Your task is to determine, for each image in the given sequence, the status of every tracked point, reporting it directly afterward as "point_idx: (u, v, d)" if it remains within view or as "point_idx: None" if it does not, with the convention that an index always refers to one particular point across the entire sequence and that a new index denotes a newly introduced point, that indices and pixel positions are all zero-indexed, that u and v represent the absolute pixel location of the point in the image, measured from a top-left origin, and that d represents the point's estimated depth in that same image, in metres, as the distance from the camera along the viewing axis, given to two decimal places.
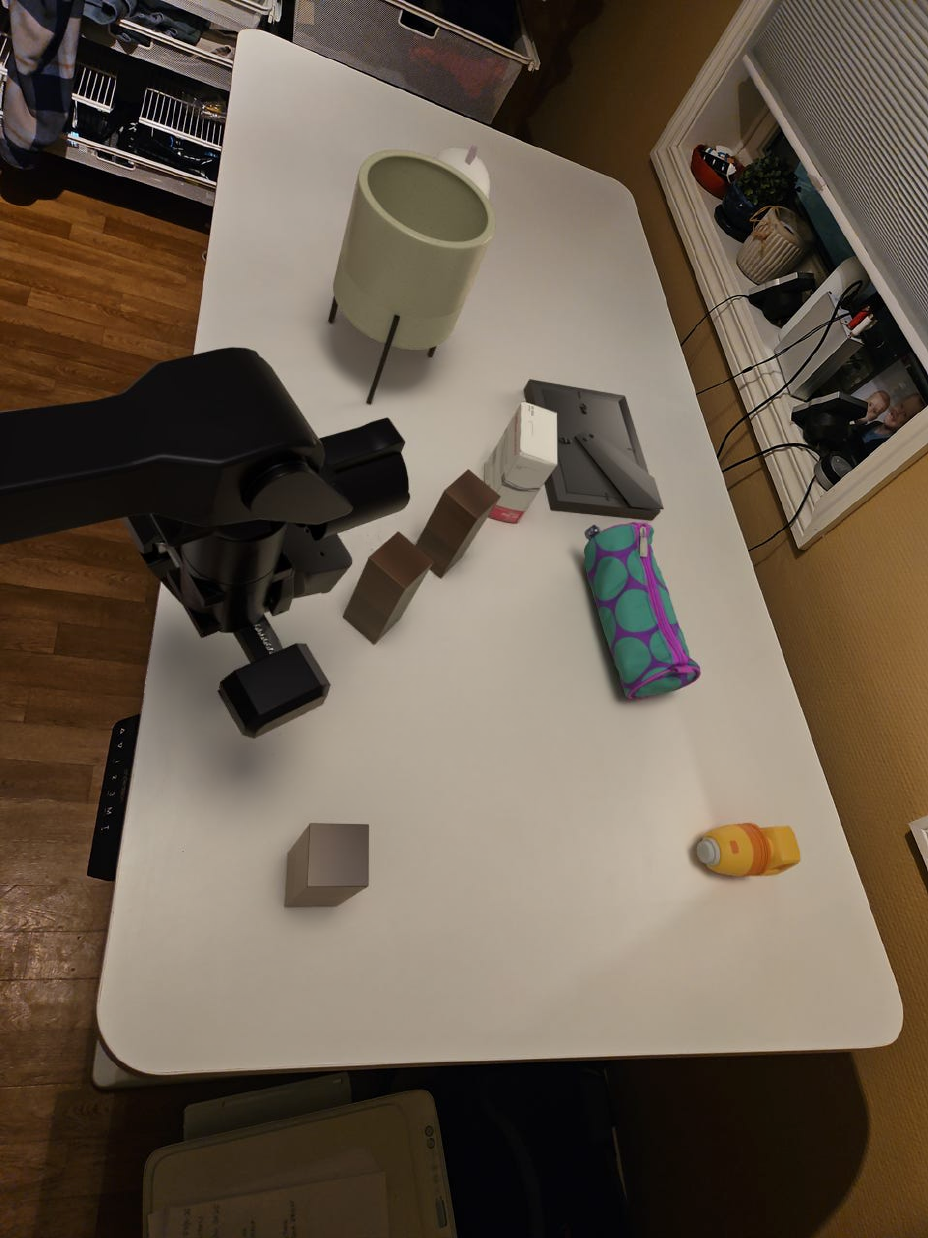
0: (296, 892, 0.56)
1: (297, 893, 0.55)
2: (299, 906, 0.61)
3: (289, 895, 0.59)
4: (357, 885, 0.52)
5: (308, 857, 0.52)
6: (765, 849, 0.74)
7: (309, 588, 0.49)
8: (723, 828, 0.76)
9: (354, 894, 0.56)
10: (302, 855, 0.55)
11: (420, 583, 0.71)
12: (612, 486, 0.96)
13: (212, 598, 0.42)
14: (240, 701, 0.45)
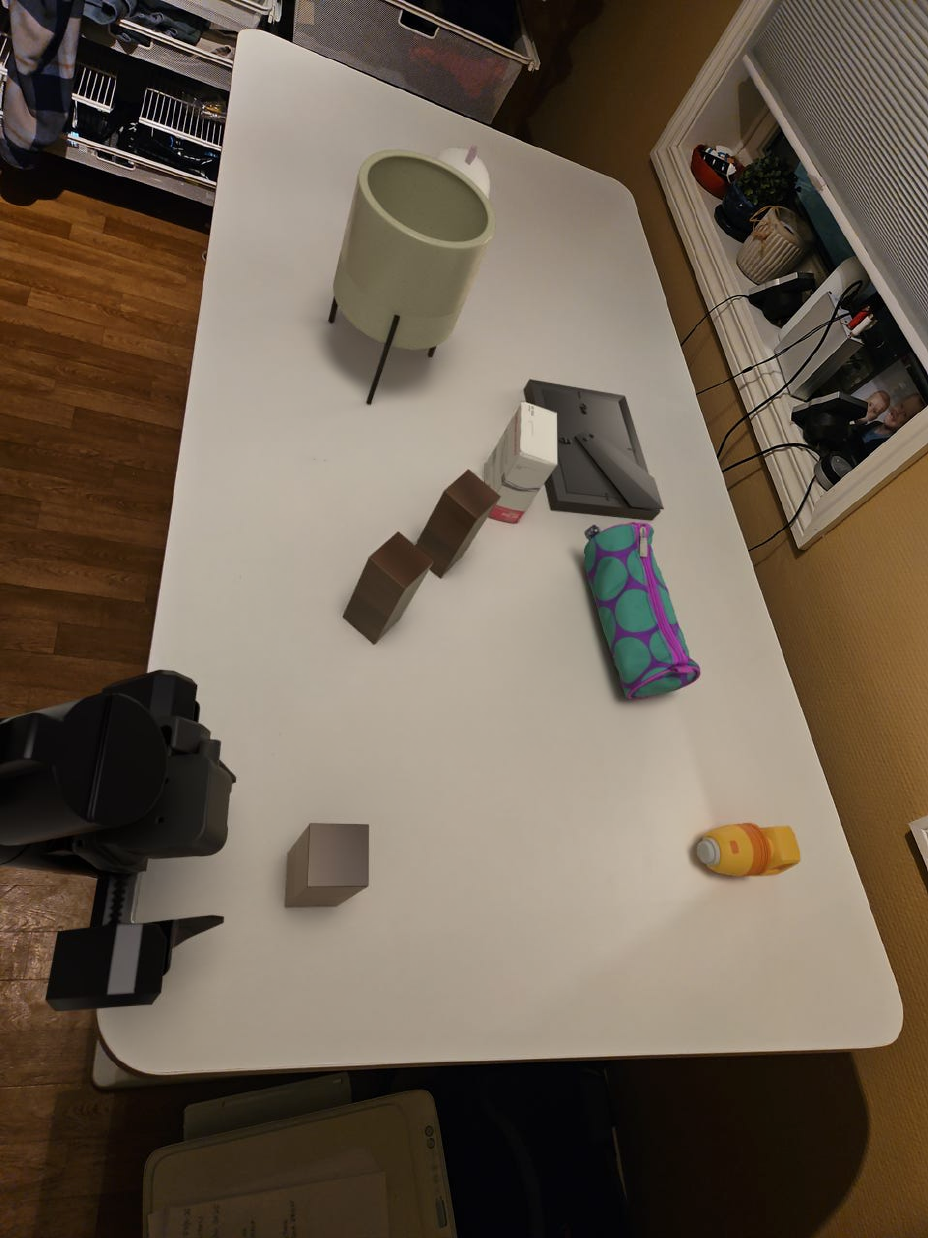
0: (296, 892, 0.56)
1: (297, 893, 0.55)
2: (299, 906, 0.61)
3: (289, 895, 0.59)
4: (357, 885, 0.52)
5: (308, 857, 0.52)
6: (765, 849, 0.74)
7: (156, 855, 0.38)
8: (723, 828, 0.76)
9: (354, 894, 0.56)
10: (302, 855, 0.55)
11: (420, 583, 0.71)
12: (612, 486, 0.96)
13: None
14: None
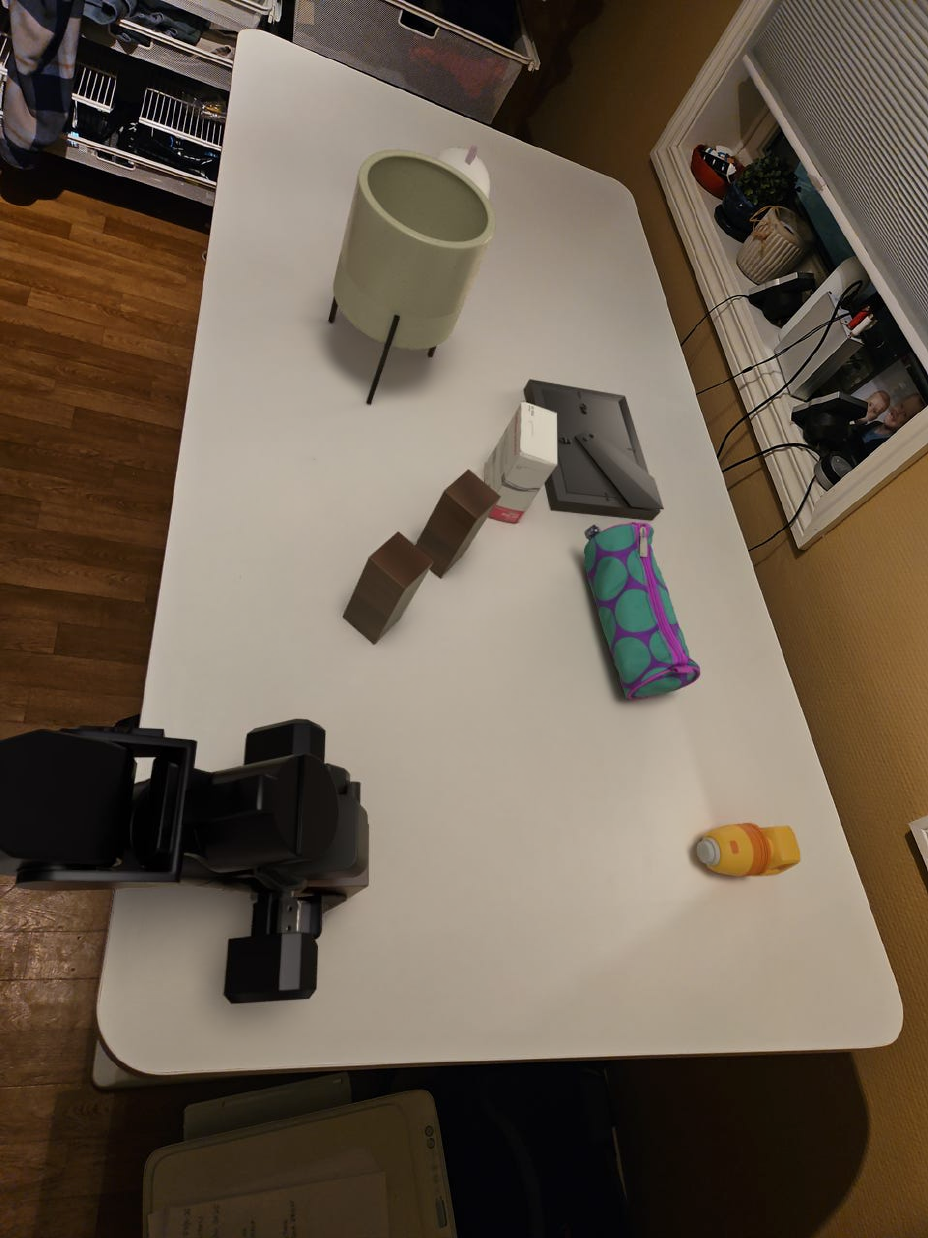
0: (296, 892, 0.56)
1: (297, 893, 0.55)
2: None
3: None
4: (357, 885, 0.52)
5: None
6: (765, 849, 0.74)
7: (313, 877, 0.47)
8: (723, 828, 0.76)
9: (354, 894, 0.56)
10: None
11: (420, 583, 0.71)
12: (612, 486, 0.96)
13: (183, 883, 0.46)
14: (225, 970, 0.48)
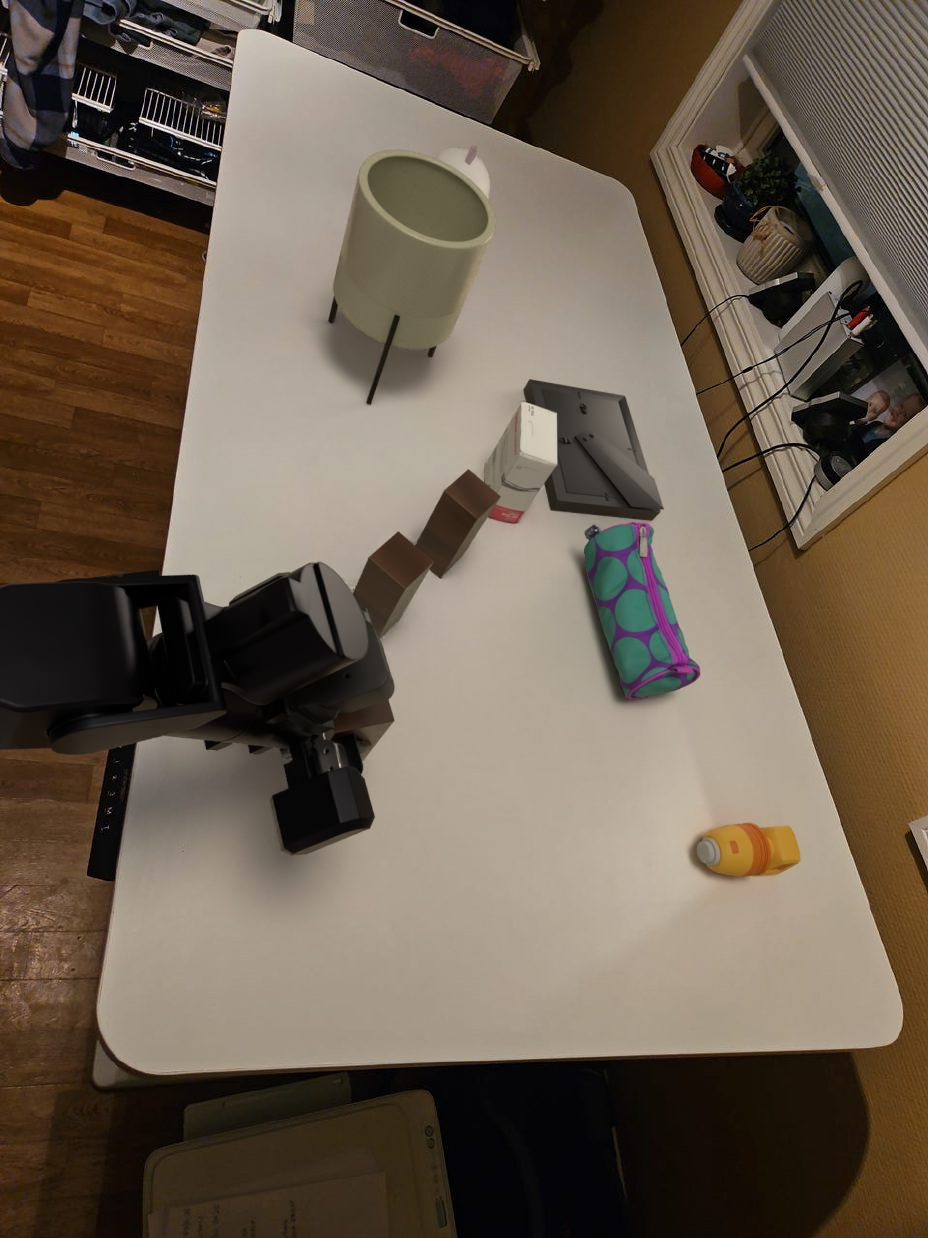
0: None
1: None
2: None
3: None
4: (383, 721, 0.51)
5: None
6: (765, 849, 0.74)
7: (345, 709, 0.45)
8: (723, 828, 0.76)
9: (378, 739, 0.55)
10: None
11: (420, 583, 0.71)
12: (612, 486, 0.96)
13: (213, 746, 0.43)
14: (277, 826, 0.46)
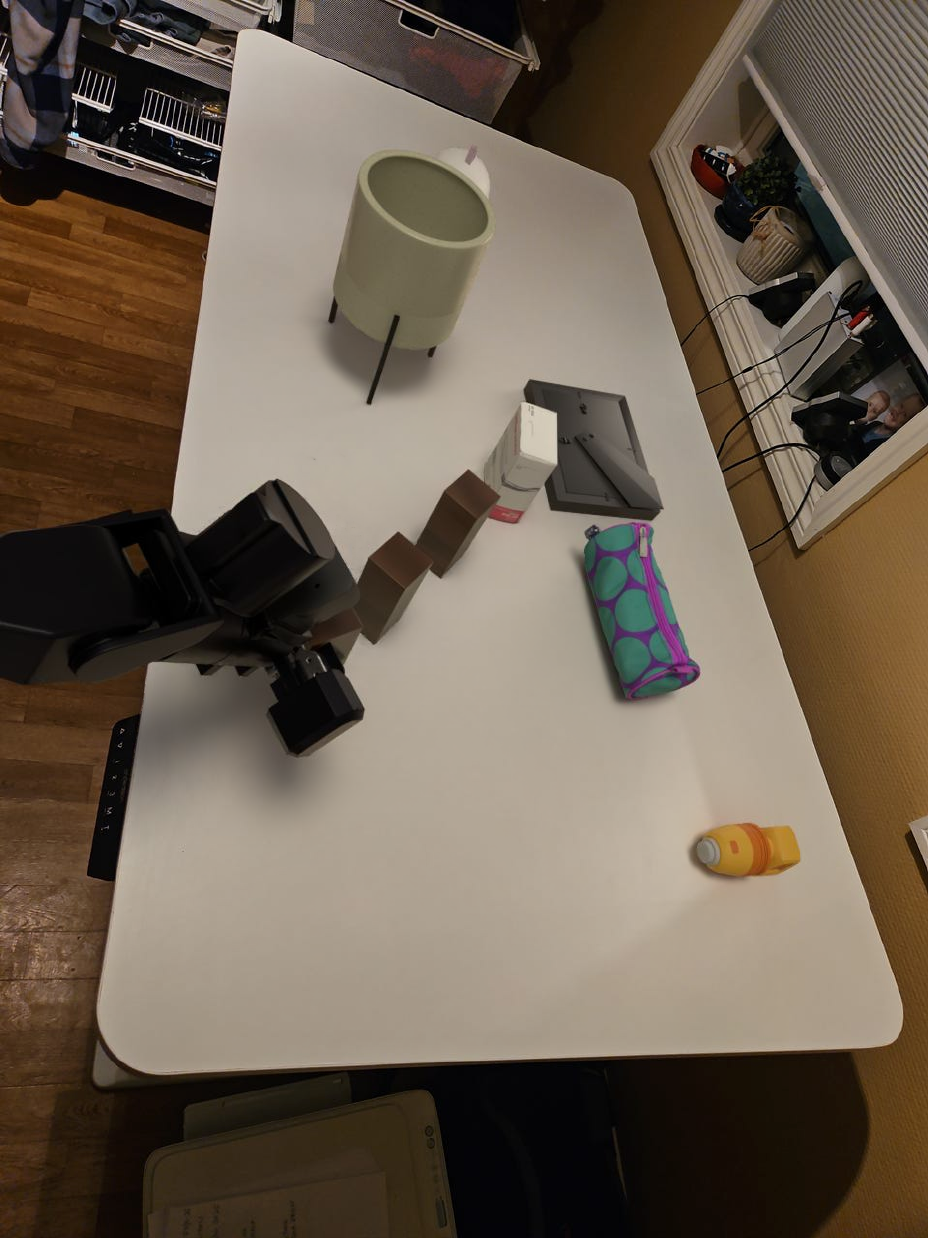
0: None
1: None
2: None
3: None
4: (353, 629, 0.56)
5: None
6: (765, 849, 0.74)
7: (320, 617, 0.49)
8: (723, 828, 0.76)
9: (350, 649, 0.60)
10: None
11: (420, 583, 0.71)
12: (612, 486, 0.96)
13: (207, 671, 0.47)
14: (278, 734, 0.51)
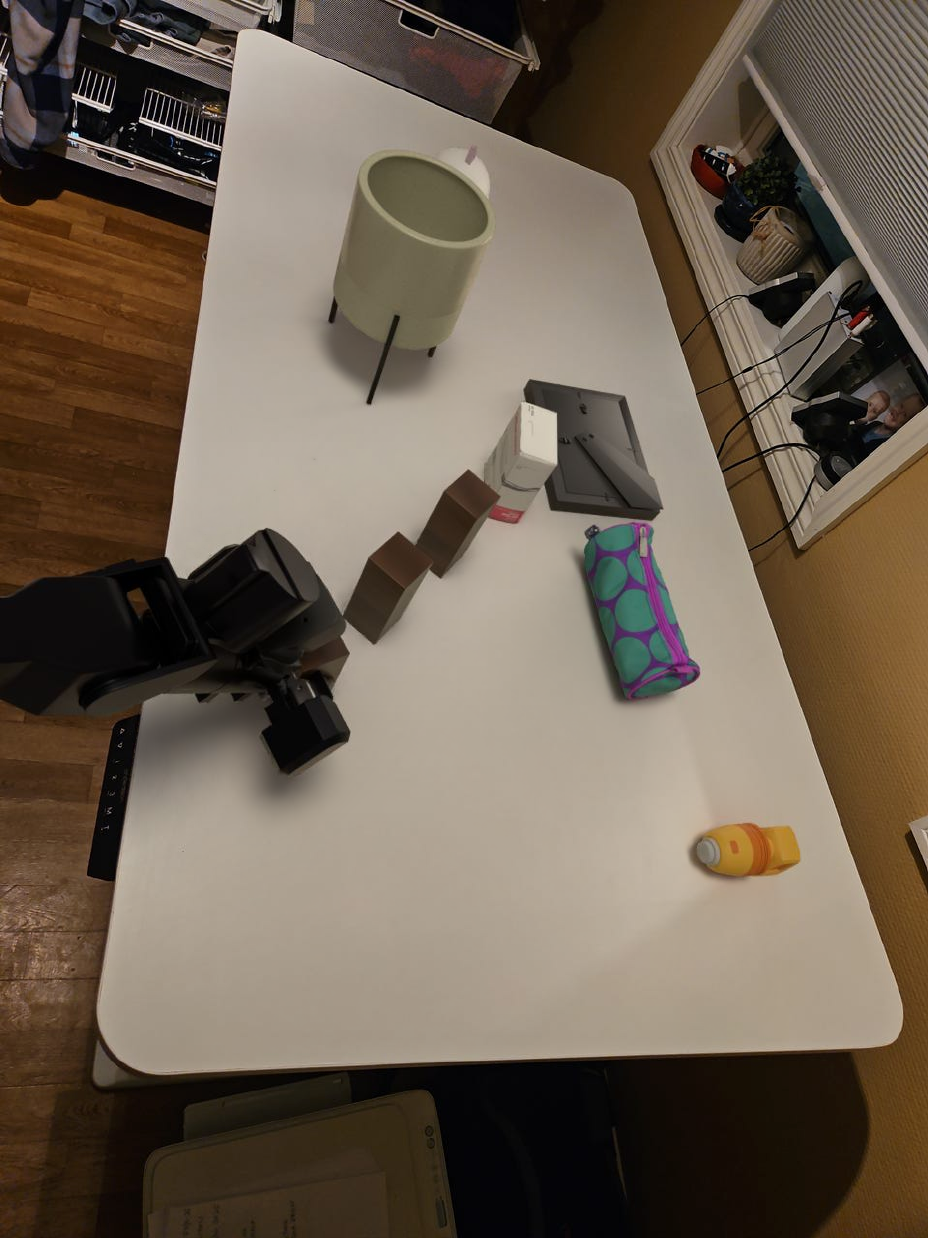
0: None
1: None
2: None
3: None
4: (341, 656, 0.60)
5: None
6: (765, 849, 0.74)
7: (308, 648, 0.54)
8: (723, 828, 0.76)
9: (339, 673, 0.64)
10: None
11: (420, 583, 0.71)
12: (612, 486, 0.96)
13: (204, 699, 0.52)
14: (270, 755, 0.55)
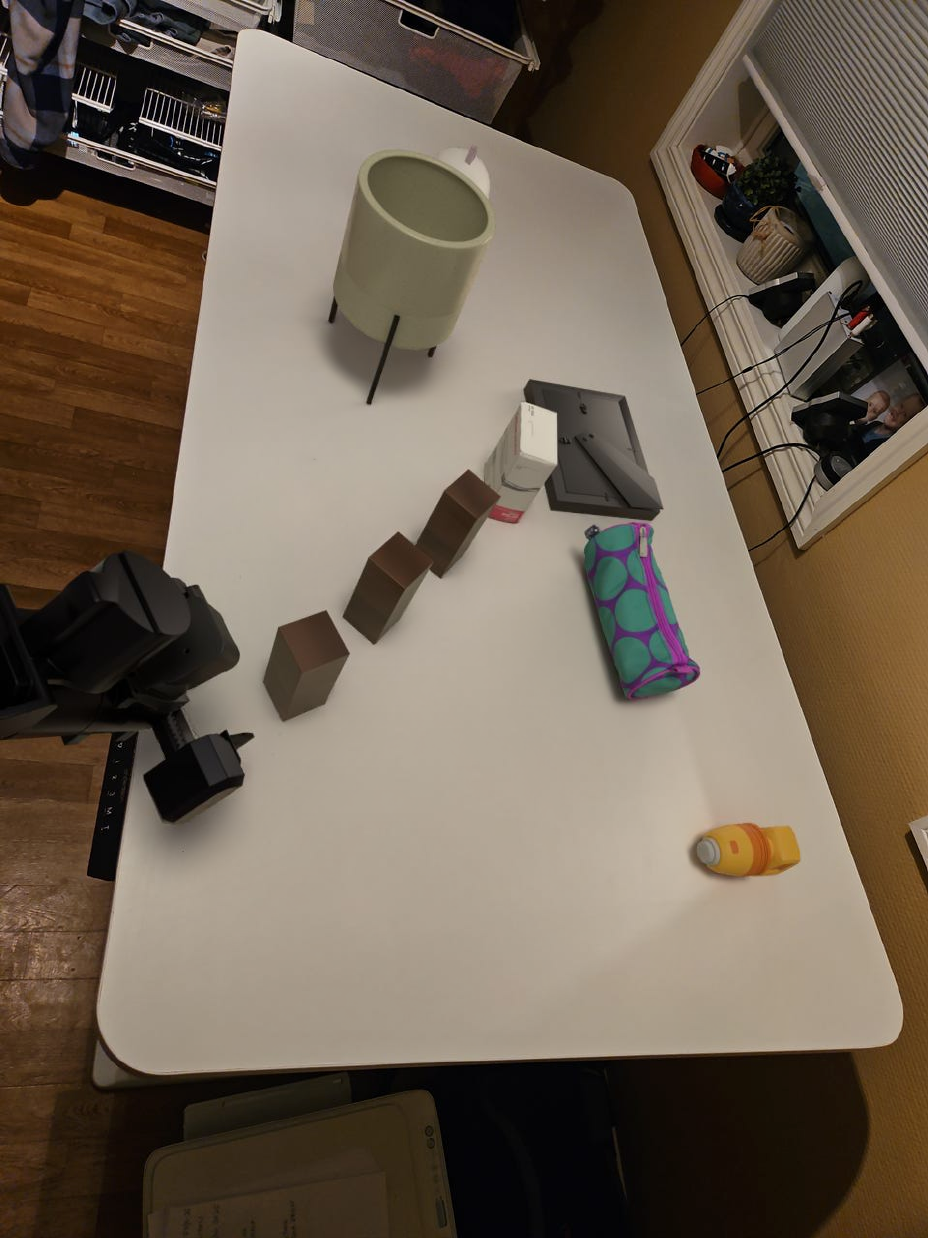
0: (291, 692, 0.63)
1: (293, 691, 0.62)
2: (294, 715, 0.68)
3: (283, 705, 0.66)
4: (341, 656, 0.60)
5: (291, 651, 0.59)
6: (765, 849, 0.74)
7: (194, 682, 0.48)
8: (723, 828, 0.76)
9: (339, 673, 0.64)
10: (283, 659, 0.61)
11: (420, 583, 0.71)
12: (612, 486, 0.96)
13: (70, 741, 0.46)
14: (153, 801, 0.49)
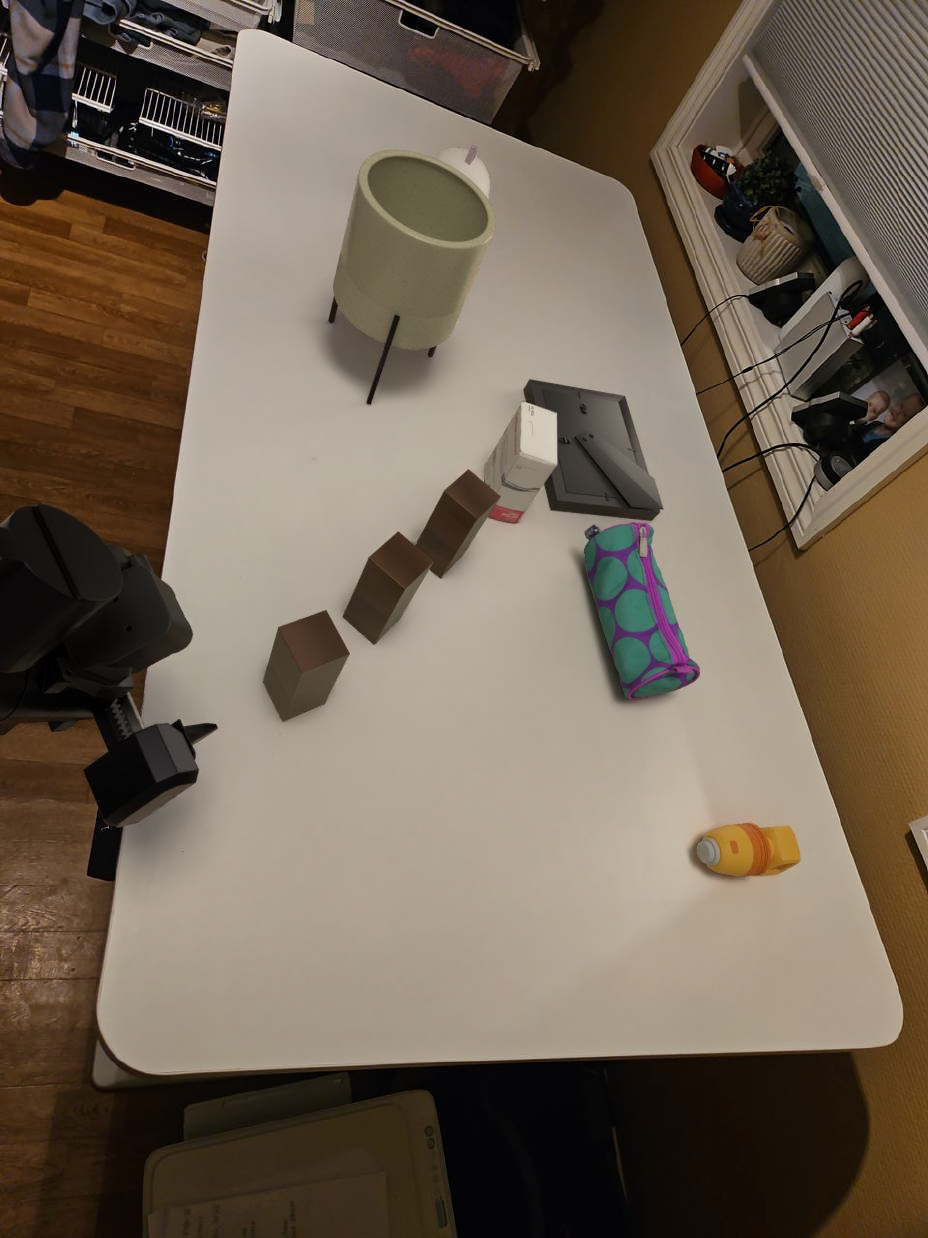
0: (291, 692, 0.63)
1: (293, 691, 0.62)
2: (294, 715, 0.68)
3: (283, 705, 0.66)
4: (341, 656, 0.60)
5: (291, 651, 0.59)
6: (765, 849, 0.74)
7: (139, 664, 0.42)
8: (723, 828, 0.76)
9: (339, 673, 0.64)
10: (283, 659, 0.61)
11: (420, 583, 0.71)
12: (612, 486, 0.96)
13: None
14: (95, 800, 0.43)
